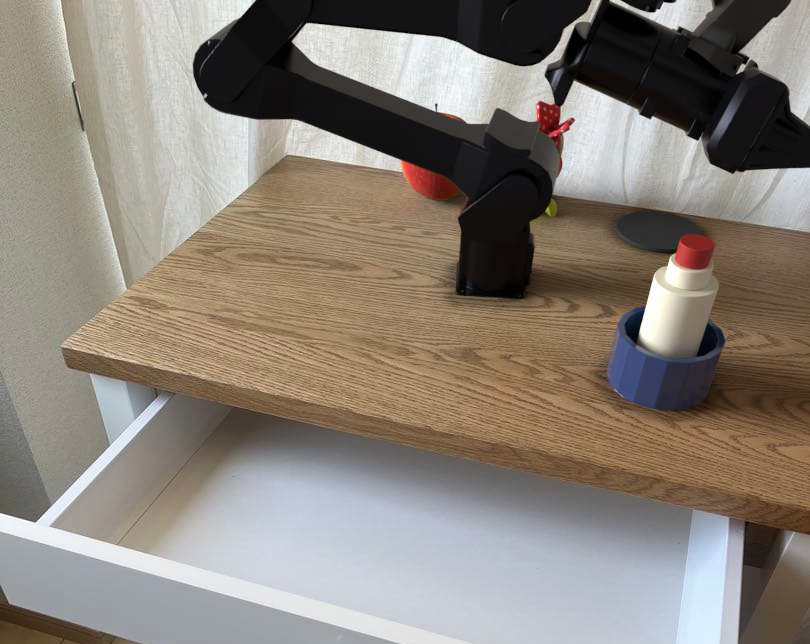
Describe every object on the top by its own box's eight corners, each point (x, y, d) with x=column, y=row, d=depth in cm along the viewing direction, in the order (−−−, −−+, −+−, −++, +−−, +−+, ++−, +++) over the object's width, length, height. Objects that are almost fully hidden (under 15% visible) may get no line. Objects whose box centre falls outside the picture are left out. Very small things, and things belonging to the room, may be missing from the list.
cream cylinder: (631, 394, 67) (669, 256, 59) (625, 361, 71) (659, 225, 62) (691, 398, 67) (737, 259, 58) (682, 364, 70) (724, 228, 62)
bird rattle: (510, 210, 96) (493, 208, 88) (532, 104, 92) (516, 92, 84) (562, 220, 95) (550, 219, 87) (588, 113, 90) (577, 101, 82)
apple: (487, 196, 94) (496, 102, 86) (439, 219, 89) (444, 121, 82) (434, 175, 97) (438, 82, 90) (386, 195, 93) (386, 100, 86)
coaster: (620, 250, 85) (621, 246, 85) (611, 211, 92) (612, 208, 91) (708, 255, 85) (709, 251, 85) (693, 216, 91) (694, 212, 91)
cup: (611, 411, 66) (624, 358, 63) (601, 353, 72) (613, 301, 69) (715, 418, 66) (734, 365, 62) (697, 359, 72) (714, 307, 68)
